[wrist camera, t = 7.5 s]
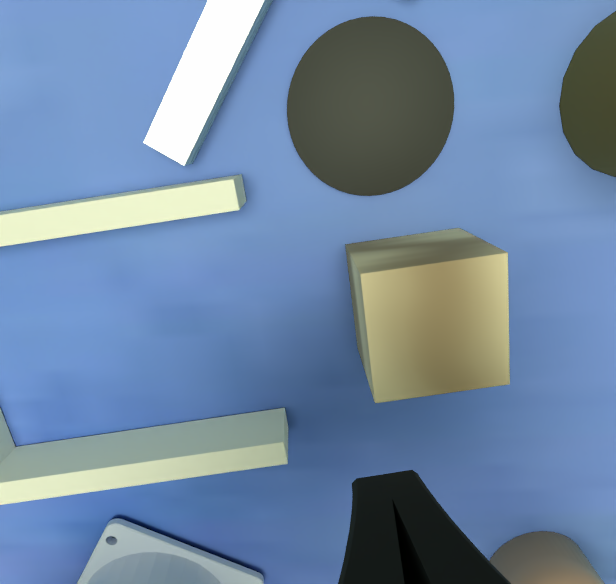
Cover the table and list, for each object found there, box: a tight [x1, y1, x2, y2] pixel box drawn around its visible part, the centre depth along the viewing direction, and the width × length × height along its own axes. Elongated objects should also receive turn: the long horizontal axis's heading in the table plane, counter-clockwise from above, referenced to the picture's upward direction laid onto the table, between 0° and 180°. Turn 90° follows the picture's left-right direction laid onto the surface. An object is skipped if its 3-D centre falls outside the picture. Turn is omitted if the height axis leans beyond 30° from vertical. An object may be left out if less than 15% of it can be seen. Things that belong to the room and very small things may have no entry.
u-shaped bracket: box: [0, 174, 288, 505], centre depth 18 cm, size 13×11×2 cm
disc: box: [287, 16, 454, 196], centre depth 17 cm, size 6×6×1 cm
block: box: [345, 228, 510, 403], centre depth 17 cm, size 4×4×4 cm
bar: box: [143, 0, 273, 165], centre depth 16 cm, size 10×6×2 cm, turn 150°
